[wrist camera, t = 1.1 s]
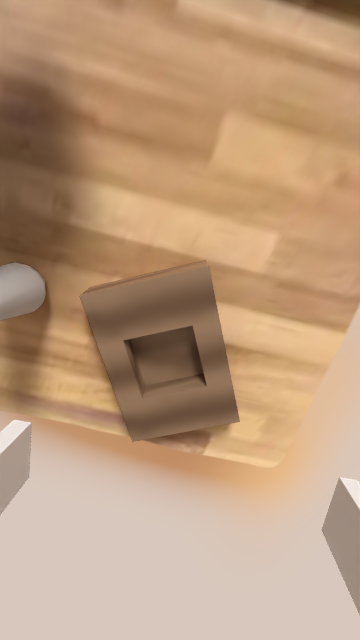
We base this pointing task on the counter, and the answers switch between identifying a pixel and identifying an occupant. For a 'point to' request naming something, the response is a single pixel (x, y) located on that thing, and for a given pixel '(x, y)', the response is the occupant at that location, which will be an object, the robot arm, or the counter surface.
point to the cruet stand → (164, 350)
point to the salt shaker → (20, 290)
